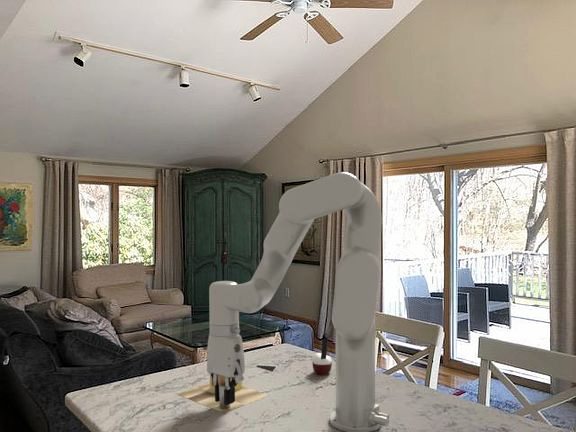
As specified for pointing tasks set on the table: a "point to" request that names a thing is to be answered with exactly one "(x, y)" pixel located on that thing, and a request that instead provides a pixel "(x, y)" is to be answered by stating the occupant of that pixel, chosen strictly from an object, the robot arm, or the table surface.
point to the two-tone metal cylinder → (222, 392)
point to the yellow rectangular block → (239, 385)
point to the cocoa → (322, 360)
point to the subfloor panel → (207, 398)
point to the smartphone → (267, 367)
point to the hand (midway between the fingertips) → (224, 401)
